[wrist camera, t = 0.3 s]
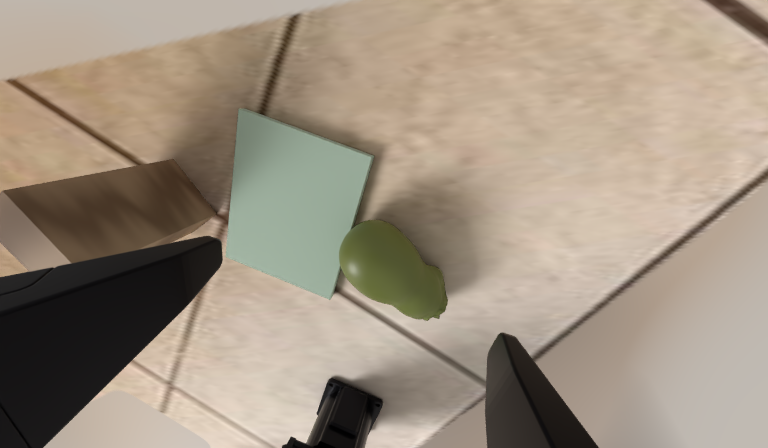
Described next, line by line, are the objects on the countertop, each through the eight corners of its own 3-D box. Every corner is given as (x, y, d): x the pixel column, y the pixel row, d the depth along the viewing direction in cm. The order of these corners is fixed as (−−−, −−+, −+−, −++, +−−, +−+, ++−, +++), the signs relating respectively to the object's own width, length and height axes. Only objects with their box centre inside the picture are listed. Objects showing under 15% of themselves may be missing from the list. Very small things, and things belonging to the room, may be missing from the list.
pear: (368, 228, 18) (469, 315, 21) (377, 195, 23) (459, 270, 26) (316, 275, 21) (413, 349, 23) (333, 237, 25) (413, 302, 28)
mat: (333, 294, 28) (330, 299, 27) (231, 253, 29) (225, 256, 28) (374, 155, 22) (371, 157, 21) (245, 108, 23) (238, 108, 22)
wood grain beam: (216, 213, 27) (82, 274, 17) (192, 232, 29) (55, 297, 19) (173, 159, 26) (2, 190, 16) (150, 181, 28) (-20, 222, 18)
